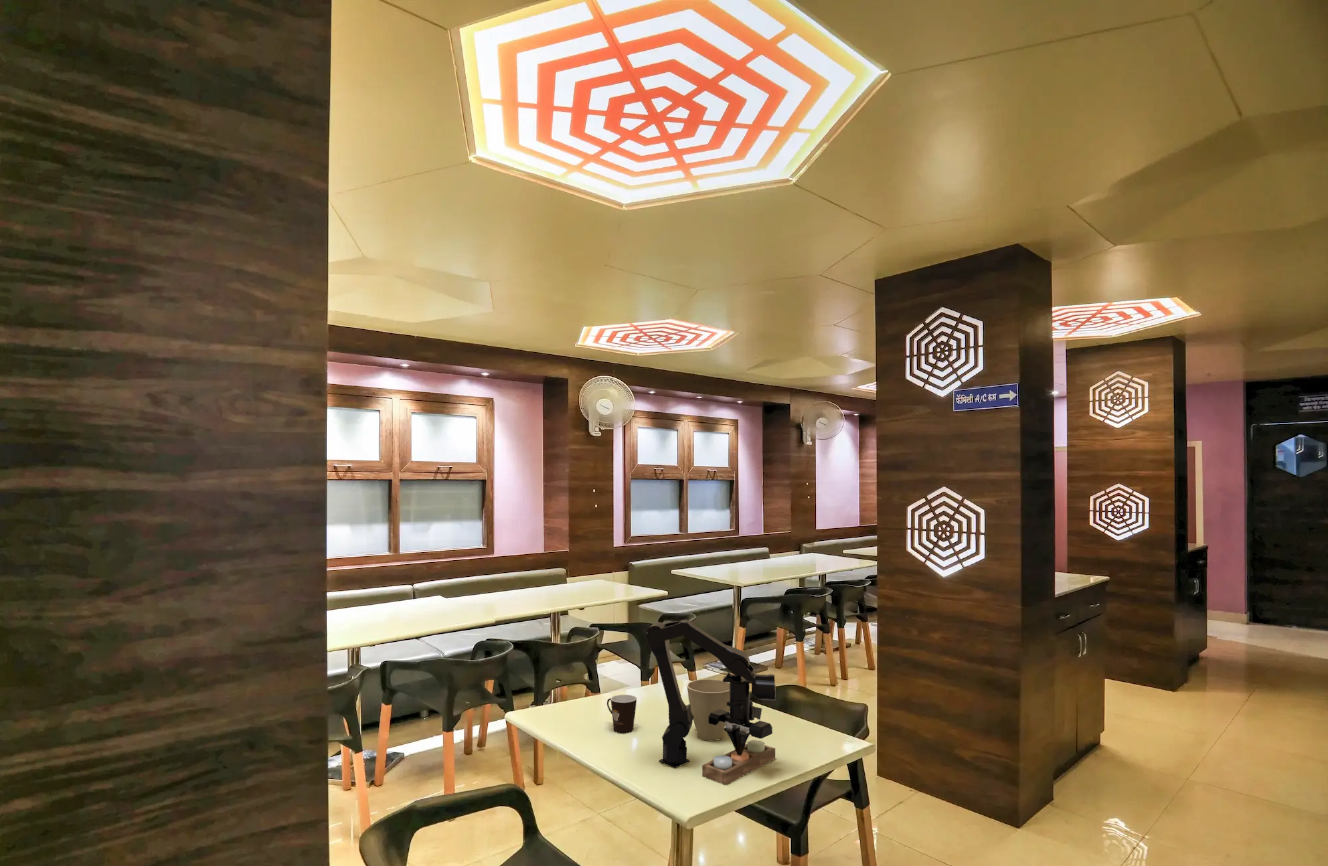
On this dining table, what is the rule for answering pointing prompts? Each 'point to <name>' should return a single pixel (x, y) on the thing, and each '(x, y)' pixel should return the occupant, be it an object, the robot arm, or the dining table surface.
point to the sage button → (756, 746)
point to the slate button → (723, 762)
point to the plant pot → (708, 705)
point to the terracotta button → (740, 756)
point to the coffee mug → (623, 712)
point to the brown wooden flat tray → (738, 766)
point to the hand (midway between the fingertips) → (739, 754)
